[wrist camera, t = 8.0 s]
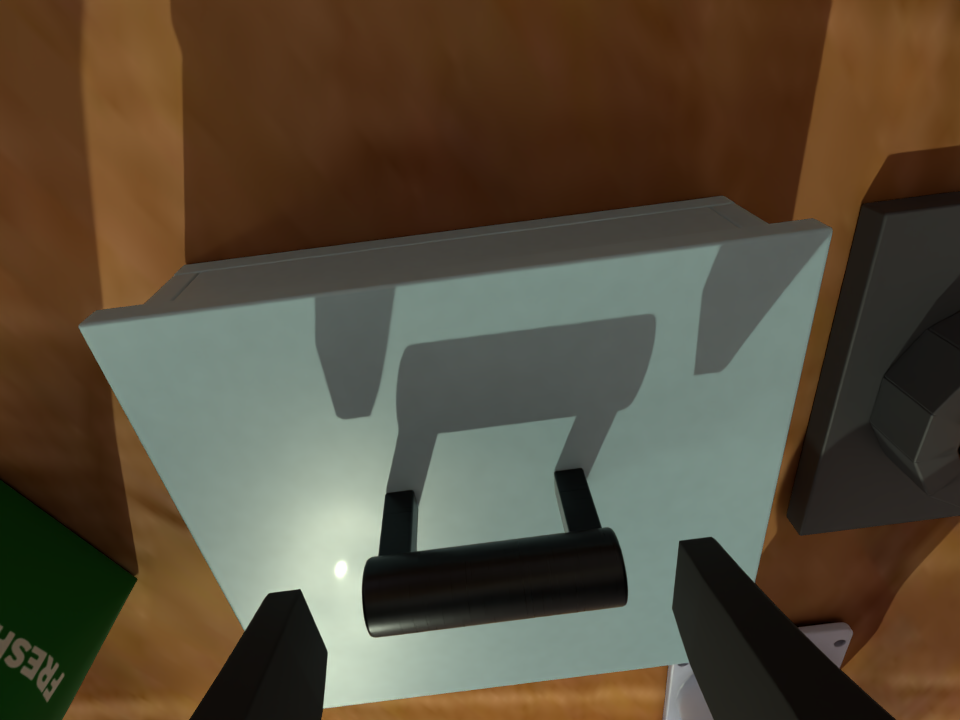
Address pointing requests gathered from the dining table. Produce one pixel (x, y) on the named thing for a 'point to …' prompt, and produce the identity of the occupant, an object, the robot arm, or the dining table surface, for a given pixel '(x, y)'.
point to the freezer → (455, 247)
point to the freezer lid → (479, 446)
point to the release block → (889, 377)
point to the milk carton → (50, 609)
